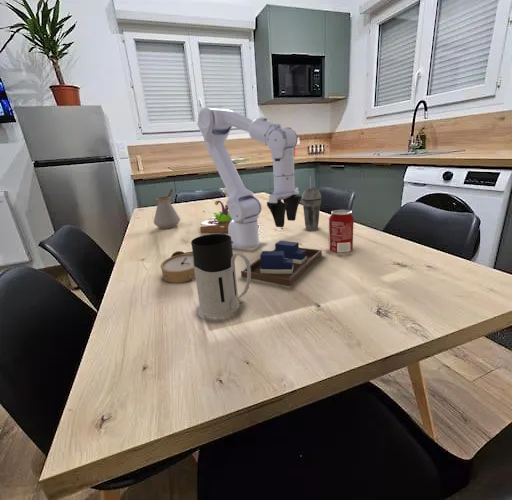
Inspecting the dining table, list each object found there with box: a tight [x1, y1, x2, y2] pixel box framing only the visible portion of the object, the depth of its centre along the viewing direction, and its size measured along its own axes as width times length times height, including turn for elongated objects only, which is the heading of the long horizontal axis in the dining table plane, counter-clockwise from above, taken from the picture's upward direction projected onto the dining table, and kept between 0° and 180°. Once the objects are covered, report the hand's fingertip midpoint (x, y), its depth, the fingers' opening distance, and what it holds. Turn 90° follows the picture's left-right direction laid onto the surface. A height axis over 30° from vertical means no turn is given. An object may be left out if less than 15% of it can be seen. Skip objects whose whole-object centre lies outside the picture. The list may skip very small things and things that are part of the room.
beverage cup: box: [301, 175, 322, 232], centre depth 109 cm, size 7×7×20 cm
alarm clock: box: [160, 250, 196, 284], centre depth 81 cm, size 11×5×15 cm
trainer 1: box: [259, 250, 294, 274], centre depth 74 cm, size 8×4×5 cm, turn 79°
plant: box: [200, 200, 233, 234], centre depth 123 cm, size 20×20×11 cm
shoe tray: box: [240, 247, 323, 287], centre depth 78 cm, size 13×21×2 cm, turn 149°
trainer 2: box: [274, 240, 307, 264], centre depth 81 cm, size 8×4×5 cm, turn 59°
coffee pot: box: [153, 188, 181, 230], centre depth 135 cm, size 21×12×15 cm, turn 179°
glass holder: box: [190, 233, 252, 320], centre depth 56 cm, size 9×14×15 cm, turn 46°
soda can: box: [328, 209, 355, 254], centre depth 85 cm, size 7×7×12 cm
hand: (285, 223), depth 86 cm, fingers open, 7 cm apart
